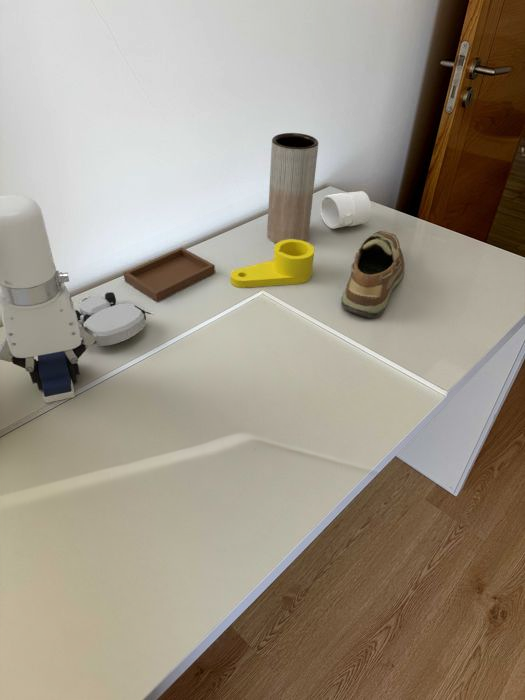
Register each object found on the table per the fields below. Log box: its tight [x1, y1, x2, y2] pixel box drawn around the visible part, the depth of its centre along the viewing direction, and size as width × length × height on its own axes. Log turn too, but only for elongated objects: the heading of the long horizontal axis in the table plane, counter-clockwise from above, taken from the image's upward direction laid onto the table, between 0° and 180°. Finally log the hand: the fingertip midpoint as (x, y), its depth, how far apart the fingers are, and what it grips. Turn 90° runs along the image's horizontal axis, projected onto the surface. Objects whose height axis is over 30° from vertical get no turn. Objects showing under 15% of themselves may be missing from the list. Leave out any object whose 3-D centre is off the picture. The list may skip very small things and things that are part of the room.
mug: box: [320, 190, 372, 230], centre depth 132 cm, size 12×9×8 cm
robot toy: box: [75, 290, 155, 347], centre depth 96 cm, size 12×4×15 cm
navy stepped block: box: [37, 351, 76, 404], centre depth 84 cm, size 9×4×4 cm, turn 20°
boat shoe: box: [341, 230, 405, 319], centre depth 109 cm, size 11×29×11 cm, turn 162°
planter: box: [266, 132, 319, 244], centre depth 120 cm, size 10×10×23 cm
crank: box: [230, 239, 315, 289], centre depth 111 cm, size 18×8×6 cm, turn 110°
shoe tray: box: [123, 247, 216, 303], centre depth 110 cm, size 16×11×2 cm
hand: (57, 379), depth 85 cm, fingers closed on navy stepped block, 4 cm apart
